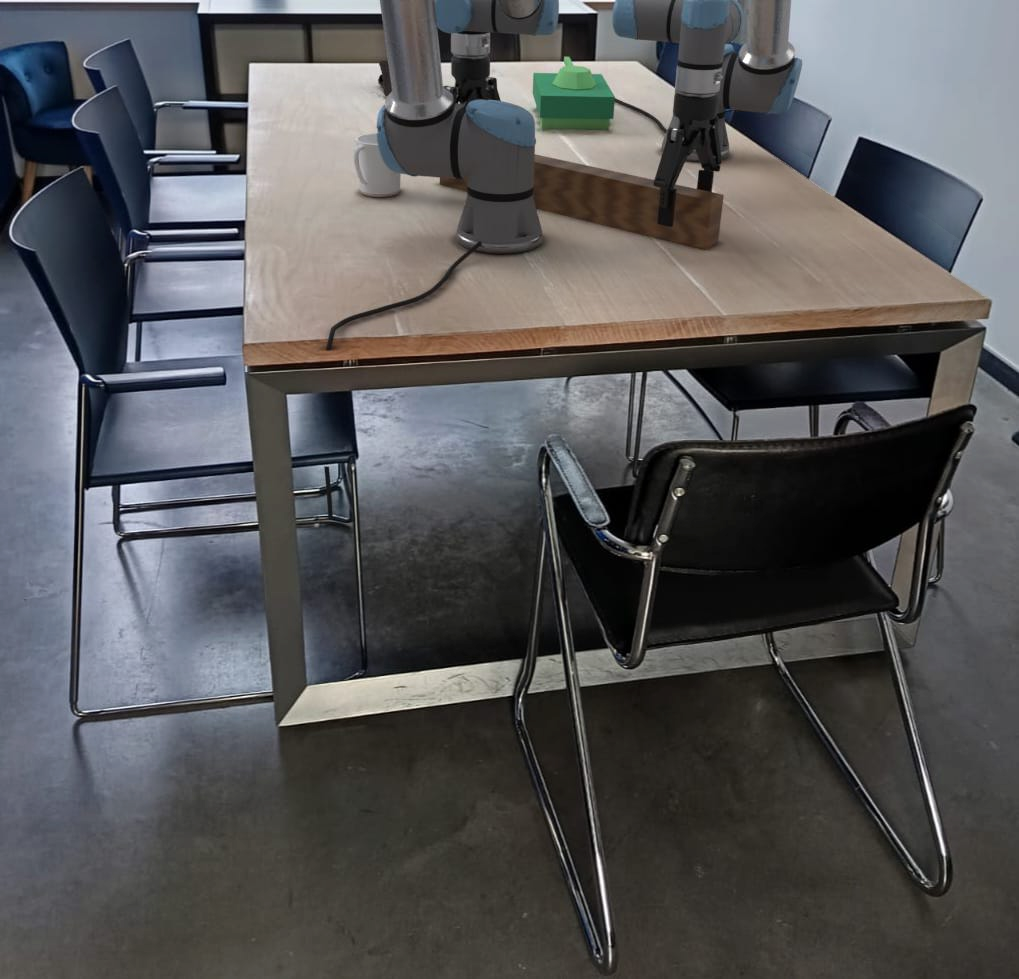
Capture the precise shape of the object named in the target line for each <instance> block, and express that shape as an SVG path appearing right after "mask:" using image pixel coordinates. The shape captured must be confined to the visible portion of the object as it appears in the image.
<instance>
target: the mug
mask: <svg viewBox="0 0 1019 979" xmlns="http://www.w3.org/2000/svg"><path fill="white" fill-rule="evenodd" d="M377 133H378V132H374V133H365V134H364V133H363V134H361V135H358V136H356V137H355V138H354V142H355V144H354V145H355V148H354V150H353V155H352V158H353V164H354V169H355V172H356V175H357V178H358V183H359V191H360V193H361V194H362V195H365V196H367V197H374V198H386V197H393V196H396V195H398V194H399V193H400V192H401V175H402V174H400V173H395V172H393V171H391V170H390V169H389V168H388V167H387V166H386V165H385V163H384V162H383V160H382V157H381V155H380V151H379V147H378V143H377Z"/></svg>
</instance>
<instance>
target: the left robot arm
mask: <svg viewBox="0 0 1019 979" xmlns="http://www.w3.org/2000/svg"><path fill="white" fill-rule="evenodd" d="M379 5H380V12H381V19H382V28H383V34H384V42H385V49H386V50H385V51H386V55H387V56H386V57H387V61H388V64H389V72H390V79H391V86H392V92H391V93H390V94H389V95H388V96H386V98H385V100H384V104H383V105H382V106H381V108H380V109H379V111H378V114H377V118H376V129H377V132H376V133H377V143H378V147H379V151H380V155H381V157H382V160H383V162H384V163H385V165H386V166H387V167H388V168H389V169H390V170H391V171H393V172H395V173H400V174H401V175H407V176H410V177H430V178H439V179H440V178H451V179H463V180H467V191H466V192H467V193H466V198H465V202H464V205H463V209H462V211H461V214H460V218H459V220H458V224H457V227H456V241H457V243H458V244H459V245H461V246H462V247H464V248H466V249H468V250H467V251H466V252H465V253H464V254H462V255H461V256H460V257H459V258H457V260H455V262H453V263H452V264H451V266H450V267H449V268H448V270H447V271H446V272H445V274H444V276H442V278H441V279H440V280H439V281H438V282H437V283H436V284H434V286H432V287H431V288H430V289H428V290H427V291H425V292H423V293H422V294H419V295H417V296H415V297H414V296H413V297H412V298H408V299H405V300H401V301H398V302H394V303H390V304H386V305H383V306H380V307H377V308H374V309H370V310H367V311H363V312H359V313H356V314H353V315H350V316H348V317H346V318H342V320H340V321H338V322H337V323H335V324H334V325H333V326H331V328H330V330H329V333H328V334H329V335H328V339H327V342H326V347H325V351H331V350H332V347H333V342H334V338H335V335H336V331H337V330H339V329H341V327H343V326H344V325H347V324H348V323H350V322H353V321H356V320H360V319H363V318H367V317H370V316H374V315H376V314H380V313H383V312H386V311H390V310H393V309H397V308H400V307H404V306H409V305H412V304H414V303H416V302H419V301H421V300H424V299H426V298H427V297H430V296H431V295H433V293H435V292H436V291H437V290H439V289H440V288H441V286H442V285H443V284H444V283H446V282H447V280H448V279H449V278H450V276H451V275H452V273H453V272H454V271H455V269H456V268H457V267H458V266H459V265H460V264H461V263H462V262H463V261H464V260H466V259H467V258H468V257H469V256H470V255H471V254H473V253H474V252H479V253H486V254H497V255H499V254H500V255H506V254H507V255H508V254H517V253H524V252H527V251H530V250H533V249H536V248H538V247H539V246H540V245H541V244H542V243H543V229H542V224H541V221H540V220H541V219H540V218H539V214H538V213H539V212H538V210H537V208H536V206H535V203H534V199H533V186H534V159H535V154H536V144H537V139H536V123H535V118H534V116H533V114H532V113H531V112H530V111H529V110H527V109H526V108H524V107H522V106H520V105H518V104H515V103H511V102H507V101H502V100H501V97H500V93H499V90H498V79H497V78H496V77H493V76H490V74H491V58H490V57H489V54H490V53H491V33H493V34H496V33H497V34H498V33H499V34H512V35H523V36H524V35H526V36H533V37H535V36H551V35H553V34H554V33H555V31H556V29H557V27H558V26H557V25H558V22H559V15H560V0H379ZM438 29H439V30H440V31H441V32H443V33H446V34H450V52H451V54H452V57H451V58H450V66H451V67H450V73H451V77H453V78H454V86H450V85H444V82H443V72H442V61H441V51H440V43H439V42H440V40H439V32H438V31H439V30H438ZM323 469H324V480H325V491H326V503H327V520H329V521H332V520H334V515H333V514H334V513H333V511H334V510H333V498H332V497H333V495H332V483H331V473H330V466H326V465H325V466H324V467H323Z"/></svg>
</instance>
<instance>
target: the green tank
mask: <svg viewBox="0 0 1019 979" xmlns="http://www.w3.org/2000/svg"><path fill="white" fill-rule="evenodd" d="M563 63H564V66H562V67H561V68H560V69H559V70H558V72H533V75H532V96H533V100H534V103H535V109H536V111H537V113H538V116H539V123H540V124H539V126H540V131H541V130H545V131H546V130H547V131H548V130H551V131H552V130H553V131H555V130H556V131H559V130H561V131H609V130H610V125H611V124H610V122H611V120H614V118H615V117H614V116H615V103H616V102H615V98H616V96H615V94H614V93H613V91H612V90H611V87H610V86H609V84H608V82H607V81H606V79H605V77H604V75H603V74H602V73H592V71H591V68H588V67H585V66H579V65H574V63H573V61H572V59H571V57H570V56H563Z"/></svg>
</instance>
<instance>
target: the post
mask: <svg viewBox="0 0 1019 979" xmlns="http://www.w3.org/2000/svg"><path fill="white" fill-rule="evenodd" d="M439 185H440V186H444V187H447V188H448V187H449V188H452V189H457V190H460V191H464V192H467V180H463V179H451V178H439ZM674 189H677V190H676V200H675V210H674V220H673V226H672V227H668V226H664V225H660V224H657V222H658V211H659V200H660V188H659V187H655V186H654V178H653V179H652V178H646V177H642V176H638V175H633V174H629V173H625V172H619V171H615V170H611V169H605V168H601V167H596V166H591V165H587V164H581V163H577V162H573V161H568V160H563V159H558V158H555V157H549V156H545V155H541V154H536V153H535V159H534V186H533V199H534V203H535V206H536V209H539V210H542V211H546V212H551V213H555V214H558V215H563V216H566V217H571V218H575V219H578V220H579V219H580V220H582V221H586V222H587V221H588V222H592V223H596V224H599V225H603V226H607V227H612V228H616V229H620V230H623V231H628V232H632V233H637V234H640V235H644V236H648V237H652V238H656V239H660V240H665V241H669V242H672V243H677V244H680V245H685V246H689V247H694V248H697V249H700V250H701V249H702V250H706V251H707V250H708V249H710V248H711V247H713V246H715V245H717V244H719V238H720V237H719V236H720V230H721V222H722V213H723V204H724V198H725V195H724V193H722V194H721V193H718V192H713V191H712V192H709V191H704V190H699V189H697V188H694V187H689V186H685V185H680V184H677V183H676V184H675V186H674Z"/></svg>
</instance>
